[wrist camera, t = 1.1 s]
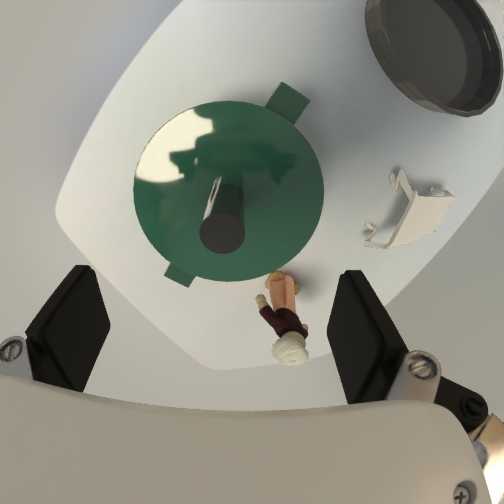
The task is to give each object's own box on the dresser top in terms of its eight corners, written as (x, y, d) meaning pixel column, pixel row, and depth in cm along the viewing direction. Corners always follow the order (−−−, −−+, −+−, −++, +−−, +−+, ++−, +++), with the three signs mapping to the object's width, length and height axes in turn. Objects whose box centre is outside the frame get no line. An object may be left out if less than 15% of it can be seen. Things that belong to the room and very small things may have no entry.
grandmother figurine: (313, 283, 36) (338, 361, 24) (295, 304, 37) (313, 383, 26) (261, 257, 33) (270, 336, 22) (244, 281, 35) (246, 362, 24)
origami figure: (404, 144, 27) (428, 153, 23) (441, 190, 30) (464, 204, 25) (340, 222, 32) (354, 242, 27) (383, 258, 34) (400, 280, 30)
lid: (114, 226, 21) (77, 269, 16) (193, 67, 16) (170, 51, 10) (256, 298, 25) (260, 355, 19) (354, 169, 20) (396, 197, 14)
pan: (334, 36, 22) (347, 27, 18) (403, -45, 14) (418, -55, 11) (447, 142, 27) (468, 149, 23) (496, 54, 19) (516, 55, 16)
